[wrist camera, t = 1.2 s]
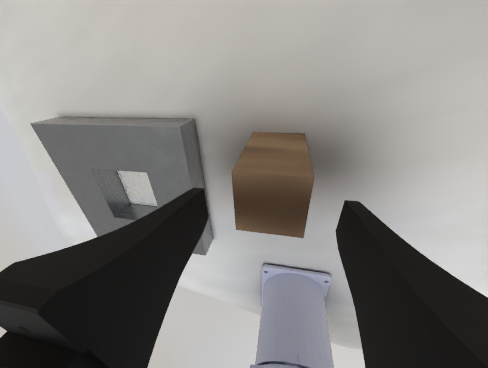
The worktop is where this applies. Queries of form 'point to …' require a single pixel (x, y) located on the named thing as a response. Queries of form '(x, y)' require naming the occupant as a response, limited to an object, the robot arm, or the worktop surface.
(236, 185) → the block
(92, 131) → the socket plate
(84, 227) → the worktop surface
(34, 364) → the robot arm
